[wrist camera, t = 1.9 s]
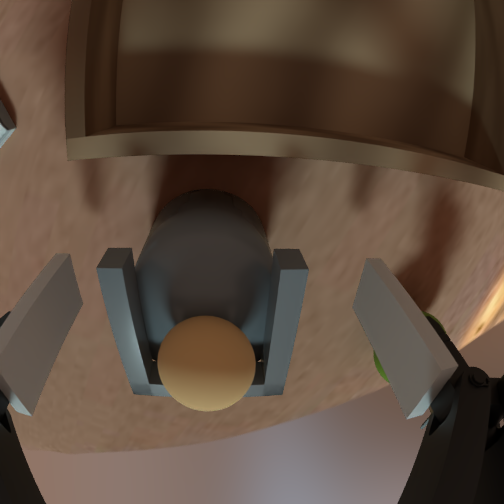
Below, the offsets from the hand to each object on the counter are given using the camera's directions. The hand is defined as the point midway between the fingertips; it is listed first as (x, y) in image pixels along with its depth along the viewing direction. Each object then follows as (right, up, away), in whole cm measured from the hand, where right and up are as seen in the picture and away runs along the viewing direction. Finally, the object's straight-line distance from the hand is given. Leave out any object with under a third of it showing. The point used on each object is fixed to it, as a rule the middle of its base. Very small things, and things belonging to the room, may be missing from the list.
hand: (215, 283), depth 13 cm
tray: (+5, +14, -3) cm, 15 cm away
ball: (0, -2, -3) cm, 4 cm away
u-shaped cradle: (-1, +2, +3) cm, 4 cm away
